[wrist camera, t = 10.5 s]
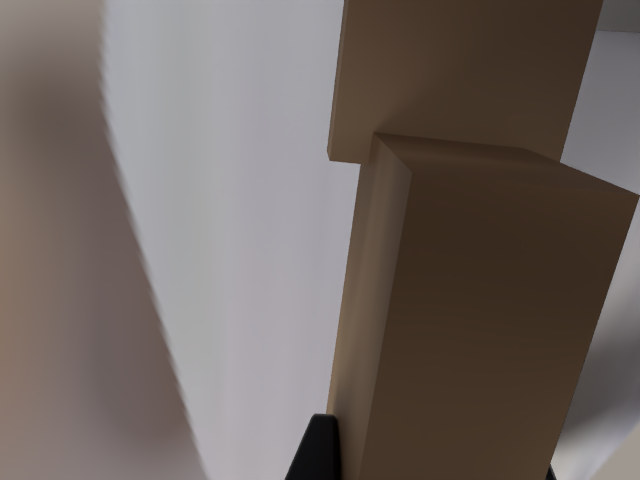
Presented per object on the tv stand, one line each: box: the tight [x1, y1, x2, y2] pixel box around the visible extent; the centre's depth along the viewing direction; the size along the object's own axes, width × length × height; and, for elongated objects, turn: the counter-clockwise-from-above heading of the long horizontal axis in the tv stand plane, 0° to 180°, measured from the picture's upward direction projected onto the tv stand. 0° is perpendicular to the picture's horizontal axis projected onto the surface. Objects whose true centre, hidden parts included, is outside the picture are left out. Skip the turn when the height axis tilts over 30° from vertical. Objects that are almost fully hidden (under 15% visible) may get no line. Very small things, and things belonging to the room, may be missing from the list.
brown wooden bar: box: [326, 0, 640, 480], centre depth 8 cm, size 18×4×4 cm, turn 173°
